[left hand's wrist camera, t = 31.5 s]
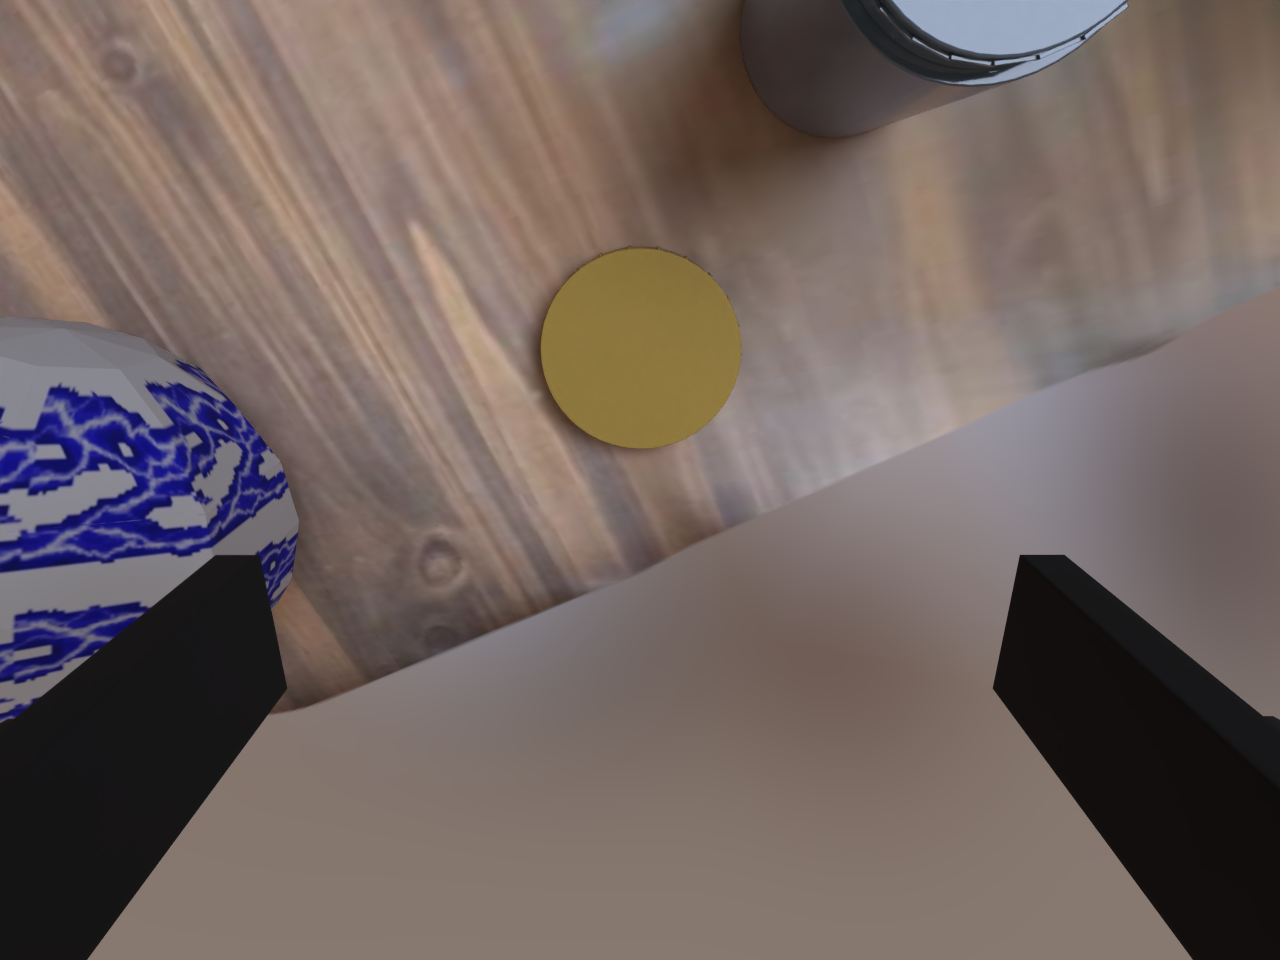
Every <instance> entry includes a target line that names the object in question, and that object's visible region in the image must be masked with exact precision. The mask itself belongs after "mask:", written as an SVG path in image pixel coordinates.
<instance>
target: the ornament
mask: <svg viewBox="0 0 1280 960" xmlns="http://www.w3.org/2000/svg"><path fill="white" fill-rule="evenodd" d="M298 528H299V519H298V516H297V513H296V510H295V506H294V503H293V500H292V497H291V493H290V490H289V487H288V484H287V480H286V477H285V474H284V471H283V467H282V464H281V461H280V460H279V459H278V458H277V457H276V455H275V454H274V453H273V452H272V450H271V449H270V448H269V447H268V445H267V444H266V443H265V442H264V441H263V439H262V438H261V437H260V436H259V434H258V433H257V432H256V431H255V430H254V428H253V427H252V426H251V425H250V423H249V422H248V421H247V420H246V418H245V417H244V416H243V415H242V414H241V412H240V411H239V410H238V409H237V407H236V406H235V405H234V404H233V403H232V402H231V401H230V400H229V399H228V397H227V396H226V395H225V394H224V393H223V392H222V391H221V390H220V389H219V388H218V387H217V386H216V385H215V384H214V383H213V382H212V380H211V379H210V378H209V377H208V376H207V375H206V374H205V373H204V372H203V371H202V370H201V369H200V368H198V367H196V366H194V365H192V364H191V363H189V362H187V361H185V360H183V359H181V358H179V357H177V356H176V355H174V354H172V353H170V352H168V351H166V350H164V349H162V348H161V347H159V346H157V345H155V344H153V343H151V342H149V341H147V340H146V339H144V338H140V337H136V336H133V335H129V334H125V333H122V332H118V331H114V330H110V329H107V328H103V327H99V326H96V325H92V324H88V323H84V322H71V321H58V320H45V319H32V318H19V317H6V318H0V723H1V722H3V721H5V720H7V719H14V718H15V717H17V716H18V715H19V714H20V713H22V712H23V711H24V710H25V709H26V708H28V707H29V706H30V705H31V704H33V703H34V702H35V701H36V700H38V699H39V698H40V697H41V696H43V695H44V694H45V693H46V692H47V691H49V690H50V689H51V688H52V687H54V686H55V685H56V684H57V683H59V682H60V681H61V680H62V679H63V678H65V677H66V676H67V675H68V674H70V673H71V672H72V671H73V670H75V669H76V668H77V667H78V666H79V665H81V664H82V663H83V662H84V661H86V660H87V659H88V658H89V657H91V656H92V655H93V654H94V653H95V652H97V651H98V650H99V649H100V648H102V647H103V646H104V645H105V644H107V643H108V642H109V641H110V640H111V639H113V638H114V637H115V636H116V635H118V634H119V633H120V632H121V631H123V630H124V629H125V628H126V627H127V626H129V625H130V624H131V623H132V622H134V621H135V620H136V619H137V618H139V617H140V616H141V615H142V614H144V613H145V612H146V611H147V610H148V609H150V608H151V607H152V606H153V605H155V604H156V603H157V602H158V601H160V600H161V599H162V598H163V597H164V596H166V595H167V594H168V593H169V592H171V591H172V590H173V589H174V588H176V587H177V586H178V585H179V584H180V583H182V582H183V581H184V580H185V579H187V578H188V577H189V576H190V575H192V574H193V573H194V572H195V571H196V570H198V569H199V568H200V567H201V566H203V565H204V564H205V563H206V562H208V561H209V560H210V559H211V558H212V557H214V556H215V555H260V557H261V562H262V567H263V572H264V577H265V582H266V587H267V592H268V597H269V602H270V607H271V611H272V610H273V609H274V607H275V605H276V604H277V602H278V601H279V599H280V597H281V596H282V594H283V592H284V591H285V589H286V588H287V586H288V584H289V583H290V581H291V580H292V572H293V565H294V558H295V550H296V543H297V535H298Z"/></svg>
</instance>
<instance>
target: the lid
mask: <svg viewBox="0 0 1280 960" xmlns="http://www.w3.org/2000/svg"><path fill="white" fill-rule="evenodd" d="M574 272H575V273H574V274H573V275H572V276H571V277H570V278H569V279H568V280H567V282H566V283H565V284H564V285H563V286H562V287H561V289H560V290H558V291H557V292H556V293H555V295H556V296H555V298H554V299H553V301H552V303H551V306H550V308H549V310H548V312H547V315H546V318H545V319H544V325H543V330H542V335H541V347H540V350H541V362H542V367H543V372H544V376H545V379H546V382H547V385H548V388H549V390H550V392H551V394H552V396H553V398H554V399H555V401H556V402H557V404H558V405H559V407H560V408H561V410H562V411H563V412H564V413H565V414H566V416H567V417H568V418H569V419H570V420H571V421H572V422H573V423H575V424H576V425H577V426H578V427H579V428H581V429H582V430H583V431H585V432H586V433H588V434H589V435H591V436H593V437H595V438H597V439H599V440H601V441H604V442H606V443H609V444H612V445H616V446H620V447H625V448H635V449H646V448H656V447H662V446H666V445H669V444H673V443H676V442H678V441H680V440H683V439H685V438H687V437H689V436H690V435H692V434H694V433H696V432H697V431H698V430H700V429H701V428H702V427H704V426H705V425H706V424H707V423H708V422H709V421H710V420H711V419H713V418H714V417H715V416H716V414H717V413H718V412H719V411H720V409H721V408H722V407H723V405H724V404H725V402H726V400H727V399H728V397H729V396H730V394H731V391H732V389H733V387H734V384H735V382H736V378H737V375H738V372H739V366H740V360H741V338H740V330H739V327H740V326H739V324H738V322H737V318H736V315H735V313H734V310H733V308H732V305H731V304H730V302H729V300H730V299H729V297H728V296H727V295H726V294H725V293H724V292H723V290H722V289H721V288H720V286H719V285H718V284H717V283H716V282H715V281H714V279H713V278H712V275H711V274H710V273H709V272H708V273H707V272H705V271H704V270H703V269H702V268H700V267H699V266H698V265H697V264H695V263H694V262H692V261H690V260H689V259H688V257H687V256H685V257H683V256H681V255H679V254H676V253H674V252H671V251H668V250H664V249H660V247H657V248H653V247H631V246H628V248H622V249H618V250H614V251H611V252H608V253H605V254H603V253H601V254H600V255H599V257H597V258H595V259H593V260H591V261H590V262H588V263H587V264H585V265H584V266H582V267H581V268H580V269H578V268H577V269H576V270H575V271H574Z"/></svg>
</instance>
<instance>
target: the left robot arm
mask: <svg viewBox="0 0 1280 960" xmlns="http://www.w3.org/2000/svg"><path fill="white" fill-rule="evenodd" d="M286 689H287V685H286V680H285V675H284V670H283V665H282V661H281V656H280V651H279V646H278V641H277V636H276V631H275V626H274V621H273V616H272V611H271V607H270V602H269V597H268V592H267V587H266V582H265V577H264V572H263V567H262V562H261V557H260V555H215V556H214V557H212V558H211V559H210V560H209V561H208V562H206V563H205V564H204V565H203V566H201V567H200V568H199V569H198V570H196V571H195V572H194V573H193V574H192V575H190V576H189V577H188V578H187V579H185V580H184V581H183V582H182V583H180V584H179V585H178V586H177V587H176V588H174V589H173V590H172V591H171V592H169V593H168V594H167V595H166V596H164V597H163V598H162V599H161V600H160V601H158V602H157V603H156V604H155V605H153V606H152V607H151V608H150V609H148V610H147V611H146V612H145V613H144V614H142V615H141V616H140V617H139V618H137V619H136V620H135V621H134V622H132V623H131V624H130V625H129V626H127V627H126V628H125V629H124V630H123V631H121V632H120V633H119V634H118V635H116V636H115V637H114V638H113V639H111V640H110V641H109V642H108V643H107V644H105V645H104V646H103V647H102V648H100V649H99V650H98V651H97V652H95V653H94V654H93V655H92V656H91V657H89V658H88V659H87V660H86V661H84V662H83V663H82V664H81V665H79V666H78V667H77V668H76V669H75V670H73V671H72V672H71V673H70V674H68V675H67V676H66V677H65V678H63V679H62V680H61V681H60V682H59V683H57V684H56V685H55V686H54V687H52V688H51V689H50V690H49V691H47V692H46V693H45V694H44V695H43V696H41V697H40V698H39V699H38V700H36V701H35V702H34V703H33V704H31V705H30V706H29V707H28V708H26V709H25V710H24V711H23V712H22V713H20V714H19V715H18V716H17V717H15V718H14V719H7V720H5V721H3V722H1V723H0V960H87V959H88V958H89V956H90V955H91V954H92V952H93V951H94V950H95V948H96V947H97V945H98V944H99V943H100V941H101V940H102V939H103V937H104V936H105V935H106V933H107V932H108V931H109V929H110V928H111V927H112V925H113V924H114V922H115V921H116V920H117V918H118V917H119V916H120V914H121V913H122V912H123V910H124V909H125V907H126V906H127V905H128V903H129V902H130V901H131V899H132V898H133V897H134V895H135V894H136V893H137V891H138V890H139V889H140V887H141V886H142V884H143V883H144V882H145V880H146V879H147V878H148V876H149V875H150V874H151V872H152V871H153V870H154V868H155V867H156V865H157V864H158V863H159V861H160V860H161V859H162V857H163V856H164V855H165V853H166V852H167V851H168V849H169V848H170V846H171V845H172V844H173V842H174V841H175V840H176V838H177V837H178V836H179V834H180V833H181V832H182V830H183V829H184V828H185V826H186V825H187V824H188V822H189V821H190V819H191V818H192V817H193V815H194V814H195V813H196V811H197V810H198V809H199V807H200V806H201V804H202V803H203V802H204V800H205V799H206V798H207V796H208V795H209V794H210V792H211V791H212V790H213V788H214V787H215V786H216V784H217V783H218V781H219V780H220V779H221V777H222V776H223V775H224V773H225V772H226V771H227V769H228V768H229V767H230V765H231V764H232V763H233V761H234V760H235V758H236V757H237V756H238V754H239V753H240V752H241V750H242V749H243V748H244V746H245V745H246V744H247V742H248V741H249V740H250V738H251V737H252V735H253V734H254V733H255V731H256V730H257V729H258V727H259V726H260V725H261V723H262V722H263V721H264V719H265V718H266V716H267V715H268V714H269V712H270V711H271V710H272V708H273V707H274V706H275V704H276V703H277V702H278V700H279V699H280V698H281V696H282V695H283V693H284V692H285V691H286ZM993 689H994V691H995V692H996V693H997V695H998V696H999V698H1000V699H1001V700H1002V702H1003V703H1004V704H1005V706H1006V707H1007V708H1008V710H1009V711H1010V712H1011V714H1012V715H1013V716H1014V718H1015V719H1016V721H1017V722H1018V723H1019V724H1020V726H1021V727H1022V729H1023V730H1024V731H1025V733H1026V734H1027V735H1028V737H1029V738H1030V740H1031V741H1032V742H1033V744H1034V745H1035V746H1036V748H1037V749H1038V750H1039V752H1040V753H1041V754H1042V756H1043V757H1044V758H1045V760H1046V761H1047V763H1048V764H1049V765H1050V767H1051V768H1052V769H1053V771H1054V772H1055V773H1056V775H1057V776H1058V777H1059V779H1060V780H1061V782H1062V783H1063V784H1064V786H1065V787H1066V788H1067V790H1068V791H1069V792H1070V794H1071V795H1072V796H1073V798H1074V799H1075V800H1076V802H1077V803H1078V805H1079V806H1080V807H1081V809H1082V810H1083V811H1084V813H1085V814H1086V815H1087V817H1088V818H1089V819H1090V821H1091V822H1092V823H1093V825H1094V826H1095V828H1096V829H1097V830H1098V832H1099V833H1100V834H1101V836H1102V837H1103V838H1104V840H1105V841H1106V842H1107V844H1108V845H1109V846H1110V848H1111V849H1112V851H1113V852H1114V853H1115V855H1116V856H1117V857H1118V859H1119V860H1120V861H1121V863H1122V864H1123V866H1124V867H1125V868H1126V870H1127V871H1128V872H1129V874H1130V875H1131V876H1132V878H1133V879H1134V880H1135V882H1136V883H1137V885H1138V886H1139V887H1140V889H1141V890H1142V891H1143V893H1144V894H1145V895H1146V897H1147V898H1148V899H1149V901H1150V902H1151V903H1152V905H1153V906H1154V907H1155V909H1156V910H1157V912H1158V913H1159V914H1160V916H1161V917H1162V918H1163V920H1164V921H1165V922H1166V924H1167V925H1168V927H1169V928H1170V929H1171V931H1172V932H1173V933H1174V935H1175V936H1176V937H1177V939H1178V940H1179V941H1180V943H1181V944H1182V945H1183V947H1184V948H1185V949H1186V951H1187V952H1188V953H1189V955H1190V956H1191V958H1192V959H1193V960H1280V720H1279V719H1277V718H1275V717H1274V716H1262V715H1261V714H1260V713H1258V712H1257V711H1256V710H1255V709H1253V708H1252V707H1251V706H1250V705H1249V704H1247V703H1246V702H1245V701H1244V700H1242V699H1241V698H1240V697H1239V696H1237V695H1236V694H1235V693H1234V692H1233V691H1231V690H1230V689H1229V688H1228V687H1226V686H1225V685H1224V684H1223V683H1221V682H1220V681H1219V680H1218V679H1216V678H1215V677H1214V676H1213V675H1212V674H1210V673H1209V672H1208V671H1207V670H1205V669H1204V668H1203V667H1202V666H1200V665H1199V664H1198V663H1197V662H1196V661H1194V660H1193V659H1192V658H1191V657H1189V656H1188V655H1187V654H1186V653H1184V652H1183V651H1182V650H1181V649H1180V648H1178V647H1177V646H1176V645H1175V644H1173V643H1172V642H1171V641H1170V640H1168V639H1167V638H1166V637H1165V636H1164V635H1162V634H1161V633H1160V632H1159V631H1157V630H1156V629H1155V628H1154V627H1152V626H1151V625H1150V624H1149V623H1148V622H1146V621H1145V620H1144V619H1143V618H1141V617H1140V616H1139V615H1138V614H1136V613H1135V612H1134V611H1133V610H1132V609H1130V608H1129V607H1128V606H1127V605H1125V604H1124V603H1123V602H1122V601H1120V600H1119V599H1118V598H1117V597H1116V596H1114V595H1113V594H1112V593H1111V592H1109V591H1108V590H1107V589H1106V588H1104V587H1103V586H1102V585H1101V584H1100V583H1098V582H1097V581H1096V580H1095V579H1093V578H1092V577H1091V576H1090V575H1088V574H1087V573H1086V572H1085V571H1084V570H1082V569H1081V568H1080V567H1079V566H1077V565H1076V564H1075V563H1074V562H1072V561H1071V560H1070V559H1069V558H1067V557H1066V556H1065V555H1020V557H1019V562H1018V567H1017V572H1016V577H1015V582H1014V587H1013V592H1012V597H1011V602H1010V607H1009V611H1008V616H1007V621H1006V626H1005V631H1004V636H1003V641H1002V646H1001V651H1000V656H999V661H998V665H997V671H996V675H995V680H994V685H993Z"/></svg>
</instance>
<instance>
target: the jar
mask: <svg viewBox="0 0 1280 960" xmlns="http://www.w3.org/2000/svg"><path fill="white" fill-rule="evenodd" d="M1127 1H1128V0H744V1H743V6H742V12H741V22H740V39H741V48H742V55H743V59H744V63H745V67H746V70H747V73H748V75H749V78H750V81H751V83H752V85H753V87H754V89H755V90H756V92H757V94H758V96H759V97H760V98H761V100H762V101H763V103H764V104H765V105H766V106H767V108H768V109H769V110H770V111H771V112H772V113H773V114H774V115H775V116H776V117H778V118H779V119H780V120H782V121H783V122H784V123H785V124H787V125H789V126H791V127H793V128H794V129H796V130H798V131H801V132H804V133H806V134H809V135H813V136H818V137H825V138H843V137H850V136H855V135H859V134H862V133H865V132H868V131H871V130H874V129H877V128H880V127H882V126H885V125H888V124H891V123H894V122H897V121H900V120H903V119H906V118H908V117H911V116H914V115H917V114H920V113H923V112H926V111H929V110H932V109H934V108H937V107H940V106H943V105H946V104H949V103H952V102H955V101H958V100H960V99H963V98H966V97H969V96H972V95H975V94H978V93H981V92H984V91H986V90H989V89H992V88H995V87H998V86H1001V85H1004V84H1007V83H1010V82H1012V81H1015V80H1018V79H1021V78H1024V77H1026V76H1029V75H1032V74H1035V73H1037V72H1039V71H1041V70H1043V69H1045V68H1047V67H1049V66H1051V65H1053V64H1055V63H1057V62H1059V61H1060V60H1061V59H1063V58H1064V57H1066V56H1067V55H1069V54H1070V53H1072V52H1073V51H1075V50H1076V49H1078V48H1079V47H1080V46H1082V45H1083V44H1084V43H1085V42H1086V41H1088V40H1089V39H1090V38H1091V37H1092V36H1093V35H1095V34H1096V33H1097V32H1098V31H1099V30H1100V29H1101V28H1102V27H1103V26H1104V25H1105V24H1107V23H1108V22H1109V21H1111V20H1112V19H1113V18H1114V17H1116V16H1117V15H1118V14H1120V13H1121V12H1122V11H1124V10H1125V9H1126V8H1127V7H1128V4H1127V3H1126V2H1127Z"/></svg>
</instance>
